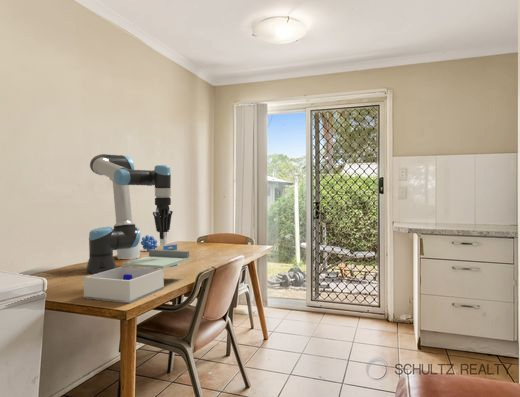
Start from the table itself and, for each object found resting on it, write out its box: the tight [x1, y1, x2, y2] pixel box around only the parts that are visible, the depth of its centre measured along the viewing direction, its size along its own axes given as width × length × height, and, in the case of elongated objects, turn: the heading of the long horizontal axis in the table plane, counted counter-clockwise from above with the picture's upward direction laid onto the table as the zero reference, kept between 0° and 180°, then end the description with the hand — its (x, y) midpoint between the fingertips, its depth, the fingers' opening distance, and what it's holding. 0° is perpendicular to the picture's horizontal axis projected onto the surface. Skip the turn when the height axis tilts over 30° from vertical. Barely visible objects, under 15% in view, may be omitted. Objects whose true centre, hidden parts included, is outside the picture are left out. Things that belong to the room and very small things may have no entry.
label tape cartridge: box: [162, 243, 178, 267], centre depth 205 cm, size 9×4×12 cm, turn 133°
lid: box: [121, 249, 190, 270], centre depth 169 cm, size 22×22×4 cm
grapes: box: [140, 234, 158, 252], centre depth 259 cm, size 12×7×12 cm, turn 106°
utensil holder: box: [116, 240, 141, 260], centre depth 234 cm, size 15×15×18 cm
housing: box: [83, 266, 165, 304], centre depth 148 cm, size 22×22×8 cm
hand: (163, 245), depth 174 cm, fingers closed
